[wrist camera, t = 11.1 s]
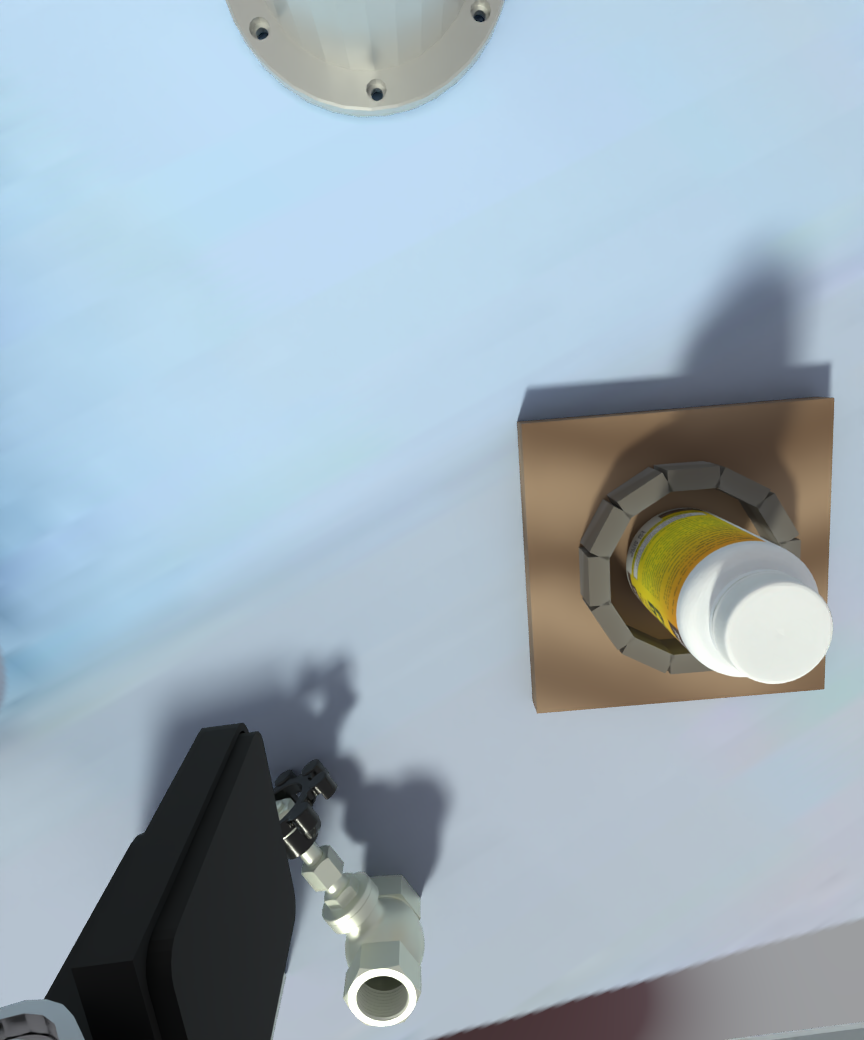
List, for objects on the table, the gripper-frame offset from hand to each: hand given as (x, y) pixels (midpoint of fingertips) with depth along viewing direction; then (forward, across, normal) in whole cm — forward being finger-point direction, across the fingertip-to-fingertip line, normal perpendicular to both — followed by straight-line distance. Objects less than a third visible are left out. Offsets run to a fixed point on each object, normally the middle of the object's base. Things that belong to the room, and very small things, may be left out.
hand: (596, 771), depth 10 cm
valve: (+26, +9, +21) cm, 35 cm away
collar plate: (+26, -10, +6) cm, 29 cm away
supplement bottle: (+25, -10, +6) cm, 28 cm away
